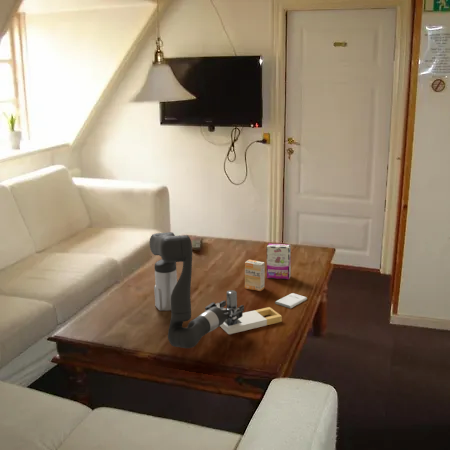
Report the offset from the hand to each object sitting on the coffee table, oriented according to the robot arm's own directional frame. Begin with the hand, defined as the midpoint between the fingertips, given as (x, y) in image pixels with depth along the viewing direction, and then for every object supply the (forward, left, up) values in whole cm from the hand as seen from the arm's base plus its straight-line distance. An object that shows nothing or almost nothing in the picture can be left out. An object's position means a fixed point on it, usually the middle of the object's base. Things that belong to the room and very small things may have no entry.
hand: (234, 304), depth 230 cm
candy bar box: (+43, +37, -9) cm, 57 cm away
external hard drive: (+33, +10, -10) cm, 35 cm away
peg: (-1, -1, -9) cm, 9 cm away
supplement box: (+26, +30, -9) cm, 41 cm away
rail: (+7, -1, -9) cm, 11 cm away
